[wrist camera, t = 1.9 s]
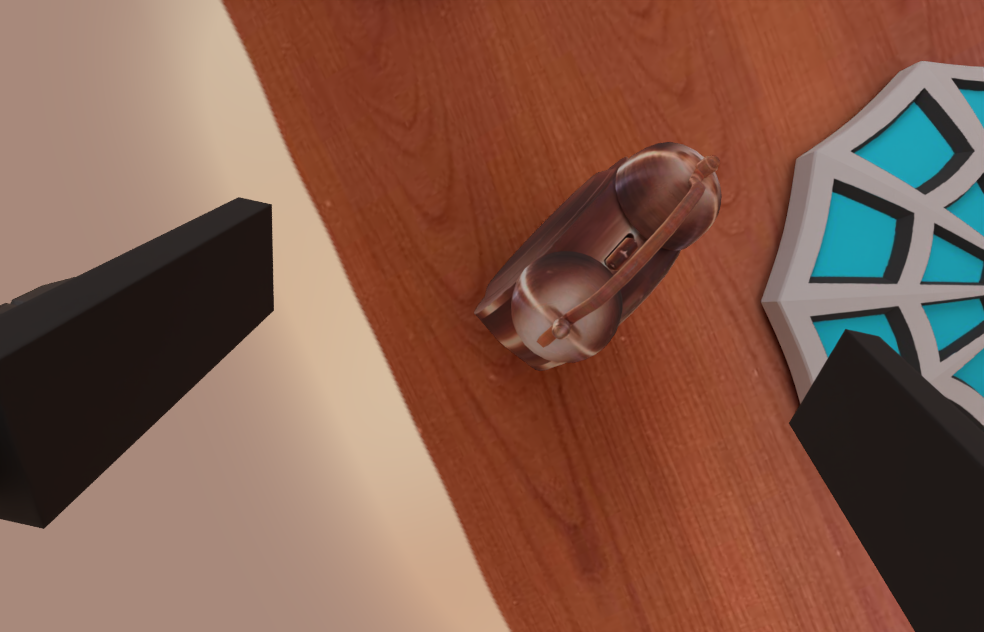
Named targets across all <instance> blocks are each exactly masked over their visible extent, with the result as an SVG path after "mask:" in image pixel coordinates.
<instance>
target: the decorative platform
mask: <svg viewBox="0 0 984 632" xmlns="http://www.w3.org/2000/svg"><path fill="white" fill-rule="evenodd" d="M761 303H762V306H763V308H764V310H765V312H766V314H767V316H768V318H769V321H770V323H771V325H772V327H773V329H774V332H775V334H776V336H777V338H778V341H779V343H780V345H781V348H782V350H783V353H784V355H785V358H786V360H787V363H788V366H789V368H790V371H791V375H792V378H793V381H794V384H795V387H796V391H797V394H798V398H799V401H800V404H801V402H802V401H803V399H804V397H805V396H806V394H807V392H808V391H809V389H810V387H811V386H812V384H813V382H814V381H815V379H816V377H817V376H818V374H819V372H820V370H821V369H822V367H823V365H824V364H825V362H826V360H827V359H828V357H829V355H830V354H831V352H832V350H833V349H834V347H835V345H836V344H837V342H838V340H839V339H840V337H841V335H842V334H843V332H844V330H845V329H848V330H853V331H857V332H862V333H866V334H871V335H876V336H879V337H881V338H882V339H883V340H884V341H885V342H886V343H887V344H888V345H889V346H890V347H891V348H893V349H894V350H895V351H896V352H897V353H898V354H899V355H900V356H901V357H902V358H903V359H905V360H906V361H907V362H908V363H909V364H910V365H911V366H912V367H913V368H914V369H915V370H916V371H918V372H919V373H920V374H921V375H922V376H923V377H924V378H925V379H926V380H927V381H928V382H930V383H931V384H932V385H933V386H934V387H935V388H936V389H937V390H938V391H939V392H940V393H942V394H943V395H944V396H945V397H946V398H947V399H948V400H949V401H950V402H951V403H952V404H954V405H955V406H956V407H957V408H958V409H959V410H960V411H961V412H962V413H963V414H964V415H966V416H967V417H968V418H969V419H970V420H971V421H972V422H973V423H974V424H975V425H976V426H977V427H979V428H980V429H981V430H982V431H983V432H984V67H972V66H960V65H951V64H942V63H934V62H927V61H920V62H918V63H916V64H914V65H912V66H910V67H908V68H906V69H904V70H902V71H900V72H899V73H898V74H897V75H896V76H895V77H894V78H893V79H892V80H891V81H890V82H889V83H888V84H887V85H886V86H885V87H884V88H883V90H882V91H881V92H880V93H879V94H878V95H877V96H876V97H875V98H874V99H873V100H872V101H871V102H870V103H869V104H868V105H867V106H866V107H864V108H863V109H862V110H861V111H860V112H859V113H858V114H857V115H856V116H854V117H853V118H852V119H851V120H850V121H849V122H847V123H846V124H845V125H844V126H842V127H841V128H840V129H839V130H837V131H836V132H834V133H833V134H832V135H830V136H829V137H828V138H826V139H825V140H823V141H822V142H821V143H819V144H818V145H816V146H815V147H813V148H812V149H810V150H809V151H807V152H806V153H804V154H803V155H801V156H800V157H798V158H797V159H796V163H795V170H794V177H793V183H792V190H791V196H790V202H789V207H788V212H787V217H786V222H785V226H784V231H783V235H782V238H781V242H780V246H779V249H778V253H777V256H776V259H775V262H774V265H773V268H772V271H771V274H770V277H769V280H768V283H767V286H766V289H765V291H764V294H763V297H762V300H761Z"/></svg>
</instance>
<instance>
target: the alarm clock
mask: <svg viewBox="0 0 984 632" xmlns="http://www.w3.org/2000/svg"><path fill="white" fill-rule="evenodd" d="M719 164H720V160H719V158H718V157H717V156H714V155H712V156H706V157H705V158H704V157H703V156H702V155H700V154H699V153H698V152H697V151H695V150H693V149H691V148H690V147H687V146H685V145H683V144H678V143H672V142H665V143H658V144H655V145H652V146H650V147H647V148H645V149H643V150H641V151H640V152H638V153H636V154H634V155H633V156H631V157H630V158H629V159H628V158H627V157H624V158H622V159H621V160H619V161H618V162H617V163H615V164H614V165H613V166H611V167H610V168H609V169H608V170H606V171H602V172H598V173H596V174H595V175H593V176H592V177H591V178H590V179H589V180H587V181H586V182H585V183H584V184H583V185H582V186H581V187H580V188H579V189H577V190H576V191H575V192H574V193H573V194H572V195H571V196H570V197H569V198H568V199H567V200H566V201H565V202H564V203H563V204H562V205H561V206H560V207H559V208H558V209H557V210H556V211H555V212H554V213H553V214H552V215H551V216H550V217H549V218H548V219H547V220H546V221H545V222H544V223H543V224H542V225H541V226H540V227H539V228H538V229H537V230H536V231H535V232H534V233H533V234H532V235H531V236H530V237H529V239H528V240H527V241H526V242H525V243H524V244H523V245H522V246H521V247H520V248H519V249H518V250H517V251H516V253H515V254H514V255H513V256H512V257H511V258H510V259H509V260H508V261H507V263H506V264H505V265H504V266H503V267H502V268H501V269H500V271H499V272H498V273H497V274H496V275H495V277H494V278H493V279H492V280H491V282H490V283H489V284H488V286H487V290H486V294H485V297H484V298H483V299H482V301H481V302H480V303H479V305H478V306H477V308H476V310H475V312H474V314H475V315H476V316H477V317H478V318H479V319H480V320H481V321H482V322H483V323H484V325H485V326H486V327H487V328H488V329H489V330H490V332H491V333H492V334H493V335H494V336H495V338H496V339H497V340H498V341H499V342H501V343H502V344H503V345H504V346H505V347H506V348H507V349H509V350H510V351H511V352H513V353H514V354H515V355H517V356H518V357H519V358H520V359H522V360H523V361H524V362H526V363H527V364H528V365H530V366H531V367H532V368H534V369H535V370H539V371H542V370H548V369H550V368H553V367H555V366H558V365H562V364H564V363H575V362H578V361H581V360H584V359H587V358H589V357H591V356H593V355H595V354H597V353H598V352H599V351H601V350H602V349H603V348H604V347H605V346H606V345H607V344H608V343H609V341H610V340H611V338H612V337H613V336H614V334H615V333H616V331H617V328H618V326H619V325H620V324H621V323H622V322H623V321H624V320H625V319H626V318H627V317H629V316H630V315H631V314H632V313H633V312H634V311H635V310H636V309H637V307H638V306H639V305H640V304H641V303H642V302H643V301H644V300H645V299H646V298H647V297H648V296H649V295H650V294H651V293H652V291H653V290H654V289H655V288H656V287H657V285H658V284H659V283H660V282H661V280H662V279H663V278H664V277H665V276H666V274H667V273H668V271H669V270H670V268H671V267H672V265H673V263H674V262H675V260H676V259H677V257H678V255H679V253H680V251H681V250H682V249H685V248H687V247H688V246H690V245H691V244H693V243H694V242H695V241H697V240H698V239H699V238H700V237H701V236H702V235H703V234H704V233H705V232H706V231H707V230H708V229H709V228H710V227H711V225H712V224H713V223H714V221H715V220H716V218H717V216H718V213H719V210H720V205H721V188H720V184H719V181H718V178H717V175H716V173H715V171H716V170H717V169H718V166H719Z"/></svg>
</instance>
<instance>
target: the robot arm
mask: <svg viewBox="0 0 984 632" xmlns="http://www.w3.org/2000/svg"><path fill="white" fill-rule="evenodd" d="M272 248H273V247H272V205H271V204H267V203H262V202H258V201H253V200H249V199H244V198H236V199H234V200H232V201H230V202H228V203H226V204H224V205H222V206H220V207H218V208H216V209H214V210H212V211H210V212H208V213H206V214H204V215H202V216H200V217H198V218H195V219H193V220H191V221H189V222H187V223H185V224H183V225H181V226H179V227H177V228H175V229H173V230H171V231H169V232H167V233H165V234H163V235H161V236H159V237H157V238H155V239H153V240H151V241H149V242H147V243H145V244H142V245H141V246H138V247H136V248H135V249H132V250H130V251H128V252H126V253H124V254H122V255H120V256H118V257H116V258H114V259H112V260H110V261H108V262H106V263H104V264H102V265H100V266H98V267H96V268H94V269H91V270H89V271H88V272H85V273H83V274H81V275H79V276H77V277H73V278H70V279H66V280H62V281H58V282H54V283H50V284H47V285H43V286H40V287H38V288H36V289H34V290H32V291H30V292H28V293H26V294H24V295H22V296H19V297H17V298H15V299H13V300H12V302H11V304H8V303H5V304H2V305H0V519H3V520H8V521H12V522H17V523H21V524H25V525H30V526H34V527H39V528H43V529H44V528H45V527H46V526H47V525H48V524H50V523H51V522H52V521H53V520H54V519H55V518H56V517H57V516H58V515H59V514H60V513H61V512H62V511H63V510H64V509H65V508H66V507H67V506H68V505H69V504H71V502H73V501H74V500H75V499H76V498H77V497H78V496H79V495H80V494H81V493H82V492H83V491H84V490H85V489H86V488H87V487H88V486H89V485H90V484H91V483H93V482H94V481H95V480H96V479H97V478H98V477H99V476H100V475H101V474H102V473H103V472H104V471H105V470H106V469H107V468H108V467H109V466H111V464H113V462H115V461H116V460H117V459H118V458H119V457H120V456H121V455H122V454H123V453H124V452H125V451H126V450H127V449H128V448H130V446H131V445H133V444H134V443H135V442H136V441H137V440H138V439H139V438H140V437H141V436H142V435H143V434H144V433H145V432H146V431H147V430H148V429H150V427H152V425H154V424H155V423H156V422H157V421H158V420H159V419H160V418H161V417H162V416H163V415H164V414H165V413H166V412H167V411H168V410H170V409H171V408H172V407H173V406H174V405H175V404H176V403H177V402H178V401H179V400H180V399H181V398H182V397H183V396H184V395H185V394H186V393H187V392H188V391H189V390H191V389H192V388H193V387H194V386H195V385H196V384H197V383H198V382H199V381H200V380H201V379H202V378H203V377H204V376H205V375H206V374H207V373H208V372H209V371H211V370H212V369H213V368H214V367H215V366H216V365H217V364H218V363H219V362H220V361H221V360H222V359H223V358H224V357H225V356H226V355H227V354H228V353H229V352H231V350H233V349H234V348H235V347H236V346H237V345H238V344H239V343H240V342H241V341H242V340H243V339H244V338H245V337H246V336H247V335H248V334H249V333H251V332H252V330H254V329H255V328H256V327H257V326H258V325H259V324H260V323H261V322H262V321H263V320H264V319H265V318H266V317H267V316H268V315H270V313H272V312H273V311H274V295H273V249H272ZM789 424H790V426H791V427H792V429H793V431H794V432H795V434H796V436H797V437H798V439H799V441H800V442H801V444H802V446H803V447H804V449H805V451H806V452H807V454H808V455H809V457H810V459H811V460H812V462H813V464H814V465H815V467H816V469H817V470H818V472H819V474H820V475H821V477H822V479H823V480H824V482H825V484H826V485H827V487H828V489H829V490H830V492H831V493H832V495H833V497H834V498H835V500H836V502H837V503H838V505H839V507H840V508H841V510H842V512H843V513H844V515H845V517H846V518H847V520H848V522H849V523H850V525H851V527H852V528H853V530H854V531H855V533H856V535H857V536H858V538H859V540H860V541H861V543H862V545H863V546H864V548H865V550H866V551H867V553H868V555H869V556H870V558H871V560H872V561H873V563H874V564H875V566H876V568H877V569H878V571H879V573H880V574H881V576H882V578H883V579H884V581H885V583H886V584H887V586H888V588H889V589H890V591H891V593H892V594H893V596H894V598H895V599H896V601H897V602H898V604H899V606H900V607H901V609H902V611H903V612H904V614H905V616H906V617H907V619H908V621H909V622H910V624H911V626H912V627H913V629H914V631H915V632H984V432H983V431H982V430H981V429H980V428H979V427H977V426H976V425H975V424H974V423H973V422H972V421H971V420H970V419H969V418H968V417H967V416H966V415H964V414H963V413H962V412H961V411H960V410H959V409H958V408H957V407H956V406H955V405H954V404H952V403H951V402H950V401H949V400H948V399H947V398H946V397H945V396H944V395H943V394H942V393H940V392H939V391H938V390H937V389H936V388H935V387H934V386H933V385H932V384H931V383H930V382H928V381H927V380H926V379H925V378H924V377H923V376H922V375H921V374H920V373H919V372H918V371H916V370H915V369H914V368H913V367H912V366H911V365H910V364H909V363H908V362H907V361H906V360H905V359H903V358H902V357H901V356H900V355H899V354H898V353H897V352H896V351H895V350H894V349H893V348H891V347H890V346H889V345H888V344H887V343H886V342H885V341H884V340H883V339H882V338H881V337H879V336H876V335H871V334H866V333H862V332H857V331H853V330H848V329H845V330H844V332H843V334H842V335H841V337H840V339H839V340H838V342H837V344H836V345H835V347H834V349H833V350H832V352H831V354H830V355H829V357H828V359H827V360H826V362H825V364H824V365H823V367H822V369H821V370H820V372H819V374H818V376H817V377H816V379H815V381H814V382H813V384H812V386H811V387H810V389H809V391H808V392H807V394H806V396H805V397H804V399H803V401H802V402H801V404H800V406H799V407H798V409H797V411H796V412H795V414H794V416H793V417H792V419H791V421H790V422H789Z"/></svg>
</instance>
